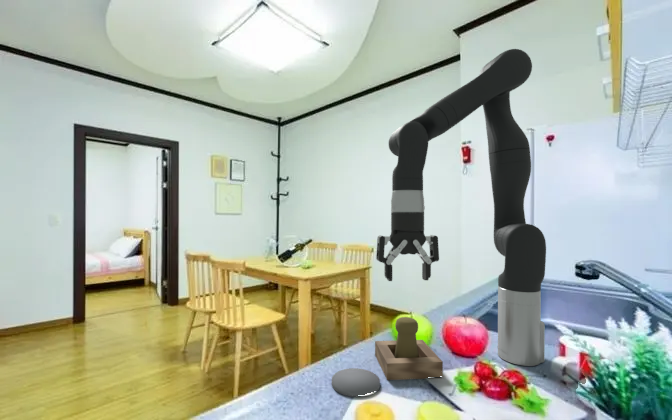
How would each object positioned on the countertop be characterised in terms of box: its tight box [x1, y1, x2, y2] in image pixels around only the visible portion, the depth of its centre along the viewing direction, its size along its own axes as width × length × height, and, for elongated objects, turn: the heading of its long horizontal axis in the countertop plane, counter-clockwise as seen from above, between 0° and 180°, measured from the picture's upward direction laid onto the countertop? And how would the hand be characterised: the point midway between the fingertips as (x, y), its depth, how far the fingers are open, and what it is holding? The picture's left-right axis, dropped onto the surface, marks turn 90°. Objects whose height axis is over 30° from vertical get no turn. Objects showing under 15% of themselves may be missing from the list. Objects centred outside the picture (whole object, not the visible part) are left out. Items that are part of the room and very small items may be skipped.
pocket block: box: [374, 339, 444, 381], centre depth 76 cm, size 12×12×4 cm
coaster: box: [331, 367, 381, 398], centre depth 68 cm, size 10×10×1 cm
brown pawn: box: [394, 316, 419, 358], centre depth 76 cm, size 6×6×11 cm
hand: (407, 280), depth 76 cm, fingers open, 8 cm apart
